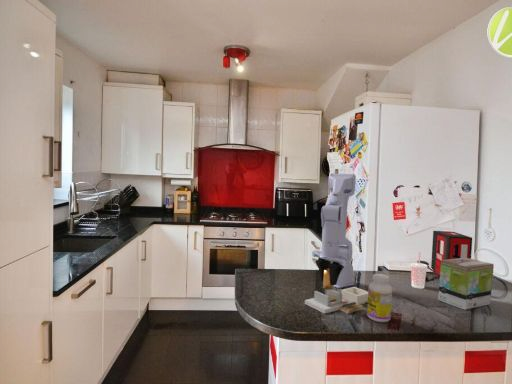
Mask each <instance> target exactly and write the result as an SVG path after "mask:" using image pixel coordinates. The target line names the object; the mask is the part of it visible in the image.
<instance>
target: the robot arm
mask: <svg viewBox="0 0 512 384" xmlns="http://www.w3.org/2000/svg"><path fill="white" fill-rule="evenodd" d="M356 177H357V176H356V174H355V173H333V172H330V173H329V176H328V181H327V182H328V183H327V184H328V188H329V192H330V193H329V194H328V196H327V199H326V202H325V205H323V206H322V207H321V212H320V218H321V228H322V231H321V232H322V233H321V251H320V250H312V255H311V257H314V258H317V259H315V264H316V266H317V268H318V271H319V276H320V279H321V282H322V283H323V275H324V269H326V268H329V271H330V285H334V288H337V289H339V288H346V287H349V286H354V285H355V283H354V282H353V281H354V277H353V276H354V267H353V264H352V263H351V262H352V259H353V242H352V241H350V240H349V239H348V238H347V237H346V236H347V235H346V234H347V221H348V220H347V219H348V204H349V199H350V197H352V196H355V191H356V182H357V181H356Z"/></svg>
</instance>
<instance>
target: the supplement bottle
mask: <svg viewBox="0 0 512 384" xmlns="http://www.w3.org/2000/svg"><path fill="white" fill-rule="evenodd" d="M389 283H390V276H389V275H386V274H382V273H374V274H372V282H370V283H369V284H368V291H367V292H368V303H367V305H366V306H367V307H366V316H367V317H368V318H369V319H370V320H371V321H375V322H377V323H387V322H389V321H390V320H391V315H392V302H393V301H392V300H393V299H392V298H393V287H392V286H391V284H389Z"/></svg>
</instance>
